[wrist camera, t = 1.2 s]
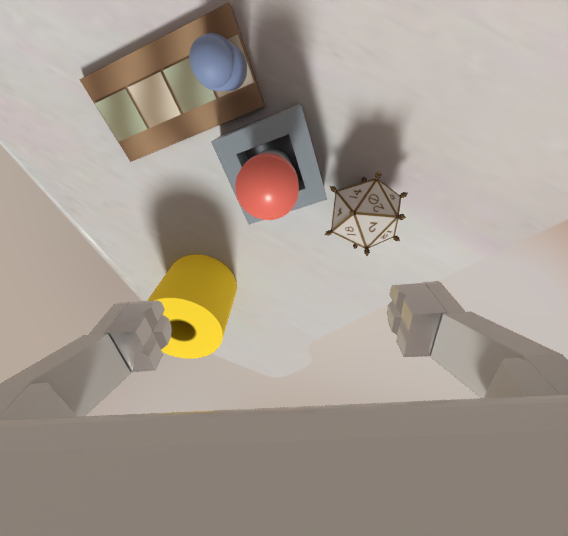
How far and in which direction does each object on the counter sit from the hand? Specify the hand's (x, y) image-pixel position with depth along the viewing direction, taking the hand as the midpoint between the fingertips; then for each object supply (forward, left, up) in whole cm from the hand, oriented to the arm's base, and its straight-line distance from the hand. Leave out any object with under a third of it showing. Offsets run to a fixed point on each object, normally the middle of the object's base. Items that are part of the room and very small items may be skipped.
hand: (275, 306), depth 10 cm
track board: (+9, -10, -25) cm, 28 cm away
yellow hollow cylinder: (+18, +12, -25) cm, 33 cm away
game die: (-6, +7, -25) cm, 27 cm away
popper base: (+2, 0, -25) cm, 25 cm away
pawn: (+3, -10, -24) cm, 26 cm away
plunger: (+2, 0, -22) cm, 22 cm away
